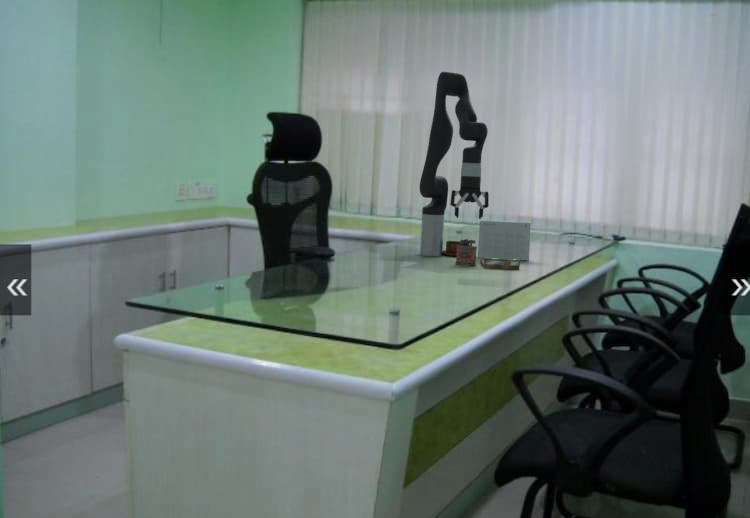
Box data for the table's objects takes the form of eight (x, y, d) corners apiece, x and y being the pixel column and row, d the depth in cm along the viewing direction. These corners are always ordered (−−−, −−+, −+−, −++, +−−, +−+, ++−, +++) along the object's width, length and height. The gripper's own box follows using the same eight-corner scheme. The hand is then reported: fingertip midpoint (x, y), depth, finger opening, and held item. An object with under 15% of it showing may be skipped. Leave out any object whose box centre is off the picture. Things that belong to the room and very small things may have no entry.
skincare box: (527, 260, 345) (530, 222, 343) (528, 261, 340) (531, 223, 338) (477, 257, 347) (479, 219, 345) (477, 258, 342) (479, 220, 340)
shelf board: (484, 268, 307) (485, 258, 307) (480, 263, 324) (480, 254, 323) (519, 269, 307) (520, 260, 307) (513, 264, 324) (513, 255, 323)
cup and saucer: (470, 258, 342) (471, 243, 341) (442, 257, 341) (443, 242, 340) (465, 255, 354) (466, 241, 353) (438, 254, 353) (438, 240, 352)
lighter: (454, 264, 314) (455, 238, 313) (457, 264, 317) (459, 238, 316) (474, 266, 311) (475, 240, 310) (477, 266, 314) (478, 239, 313)
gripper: (452, 174, 307) (450, 218, 308) (491, 176, 307) (488, 219, 308) (451, 174, 314) (449, 217, 316) (488, 176, 314) (486, 218, 316)
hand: (468, 218), depth 312 cm, fingers open, 8 cm apart
